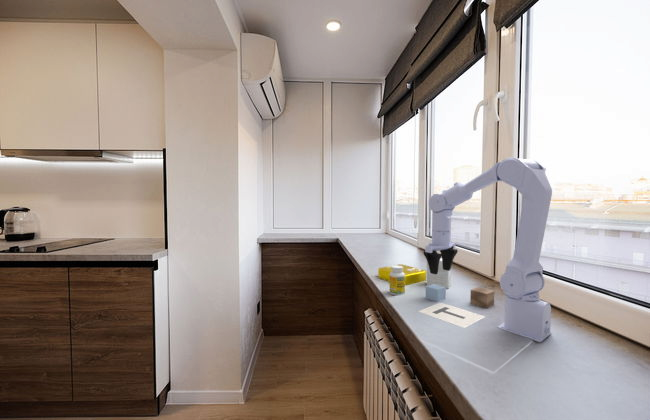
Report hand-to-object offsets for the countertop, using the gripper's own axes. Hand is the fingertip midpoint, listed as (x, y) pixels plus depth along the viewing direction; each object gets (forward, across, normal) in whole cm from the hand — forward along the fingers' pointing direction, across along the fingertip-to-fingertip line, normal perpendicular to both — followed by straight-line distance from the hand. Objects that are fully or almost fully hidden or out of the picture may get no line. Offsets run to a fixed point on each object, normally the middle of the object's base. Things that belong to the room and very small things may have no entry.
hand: (440, 271), depth 97 cm
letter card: (+10, +9, +9) cm, 16 cm away
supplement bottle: (+10, +6, -13) cm, 17 cm away
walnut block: (+10, -6, +11) cm, 16 cm away
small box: (+10, -14, -9) cm, 20 cm away
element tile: (+10, -11, -24) cm, 28 cm away
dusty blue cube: (+10, +1, -1) cm, 10 cm away
